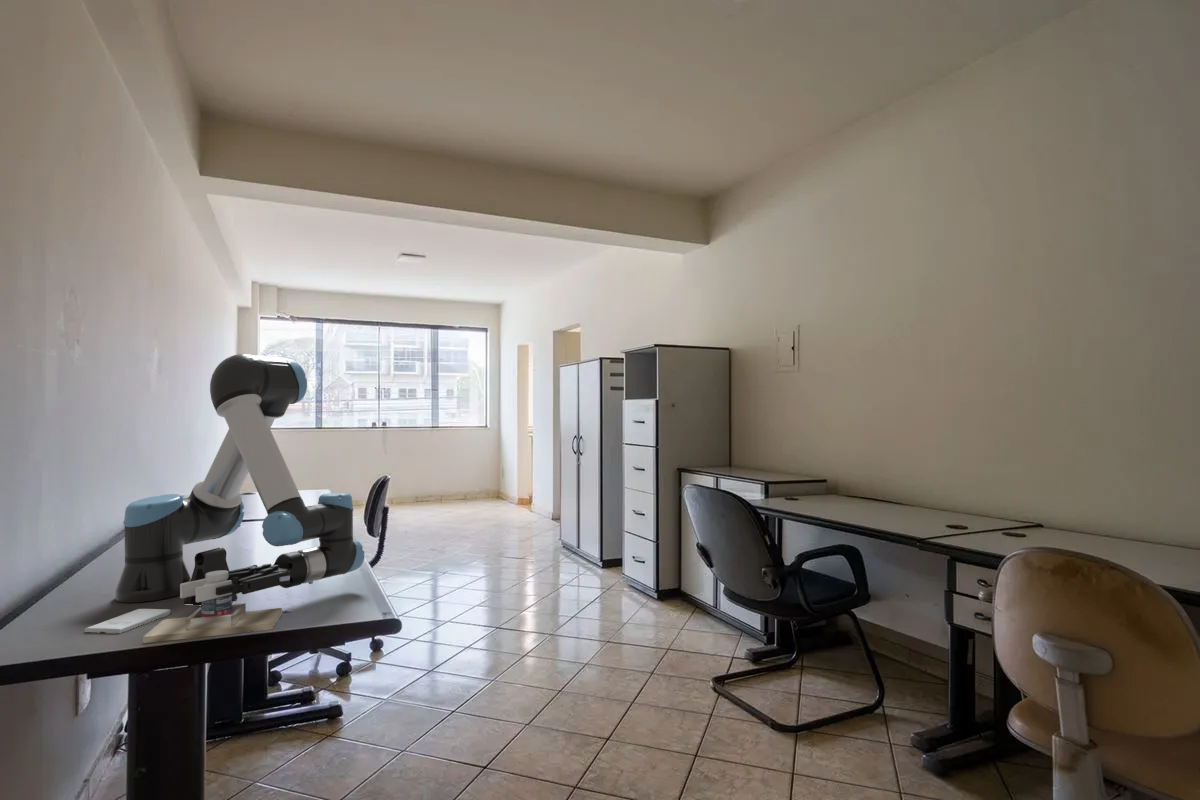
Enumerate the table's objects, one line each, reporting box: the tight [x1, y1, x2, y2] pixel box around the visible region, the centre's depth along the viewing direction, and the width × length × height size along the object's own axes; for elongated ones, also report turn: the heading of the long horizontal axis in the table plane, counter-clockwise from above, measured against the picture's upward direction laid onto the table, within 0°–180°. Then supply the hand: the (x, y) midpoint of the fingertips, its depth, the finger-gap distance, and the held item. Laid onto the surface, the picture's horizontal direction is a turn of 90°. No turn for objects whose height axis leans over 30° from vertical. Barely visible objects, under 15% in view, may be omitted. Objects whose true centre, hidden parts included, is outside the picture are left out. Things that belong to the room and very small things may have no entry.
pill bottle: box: [200, 570, 233, 617], centre depth 129 cm, size 5×5×9 cm
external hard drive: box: [84, 608, 172, 634], centre depth 133 cm, size 2×8×12 cm
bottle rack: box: [142, 603, 283, 644], centre depth 129 cm, size 22×11×3 cm, turn 107°
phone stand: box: [183, 547, 238, 605], centre depth 147 cm, size 9×6×12 cm, turn 76°
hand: (189, 593), depth 125 cm, fingers closed on pill bottle, 5 cm apart
